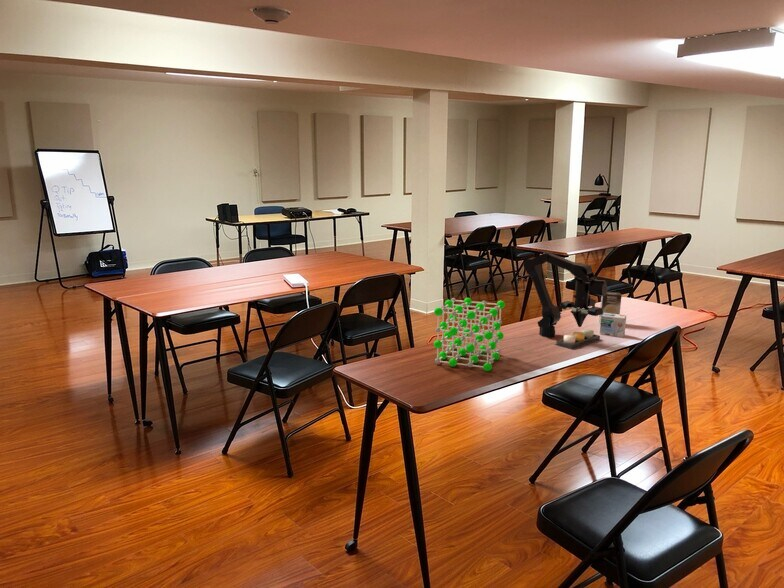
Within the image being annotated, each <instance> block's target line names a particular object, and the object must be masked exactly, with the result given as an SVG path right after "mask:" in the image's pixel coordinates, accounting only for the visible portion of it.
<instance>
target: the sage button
mask: <svg viewBox="0 0 784 588" xmlns="http://www.w3.org/2000/svg"><path fill="white" fill-rule="evenodd" d="M581 332H582V333H585V337H586V338H591V337H593V334H595V331H594V330H593V329H588V328H587V329H586V328H585V329H584V328H583V329H582V331H581Z"/></svg>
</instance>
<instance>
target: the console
mask: <svg viewBox="0 0 784 588" xmlns="http://www.w3.org/2000/svg"><path fill="white" fill-rule="evenodd" d="M601 341H602V339H601V335H600V334H595V333H594V334H593V337H591V338H586V337H585V338H584V340H582V341H578V340H575V343H573V344H569V343H565V342H564V338H562V339H558V340H556V343H554V344H553V345H554V346H557V347H561V348H565V349H569V350H572V351H574V350H577V349H579V348H583V347H586V346H589V345H592V344H595V343H598V342H601Z"/></svg>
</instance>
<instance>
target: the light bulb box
mask: <svg viewBox="0 0 784 588" xmlns="http://www.w3.org/2000/svg"><path fill="white" fill-rule="evenodd" d="M626 322H627V315H626V314H611V313H603V314H602V316H601V324H600V323H599V326H600V327H599V336H601V335H602V336H609V337H617V338H624V336H625V335H626V326H627V325H626Z"/></svg>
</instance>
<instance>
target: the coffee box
mask: <svg viewBox="0 0 784 588" xmlns="http://www.w3.org/2000/svg"><path fill="white" fill-rule="evenodd" d="M622 296H623V295H622V293H621V292H616V291H607V293H606V295H605V296H600V297H601V298H600V308H602V309H603V313H611V314H620V313H621V306H622V304H621V303H622ZM620 315H621V314H620ZM601 316H602V314H601V315H599V319H598V320H599V322H598V323H599V325H600V324H601Z"/></svg>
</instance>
